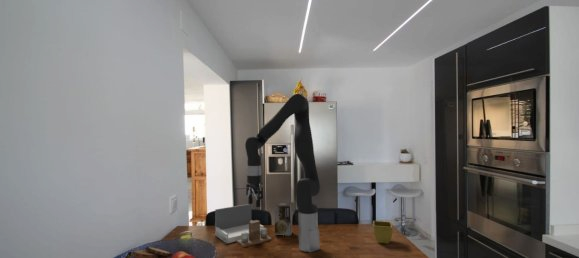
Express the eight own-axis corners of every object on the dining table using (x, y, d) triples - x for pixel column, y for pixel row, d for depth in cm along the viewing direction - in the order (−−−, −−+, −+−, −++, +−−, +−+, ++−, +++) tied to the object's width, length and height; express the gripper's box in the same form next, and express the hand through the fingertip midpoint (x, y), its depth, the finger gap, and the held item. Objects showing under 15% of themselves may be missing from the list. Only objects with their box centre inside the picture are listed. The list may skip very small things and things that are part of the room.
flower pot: (391, 239, 133) (390, 221, 134) (393, 246, 125) (392, 227, 125) (373, 238, 136) (373, 220, 136) (374, 244, 127) (373, 225, 128)
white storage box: (263, 234, 143) (263, 208, 144) (226, 243, 130) (226, 215, 131) (250, 227, 156) (250, 203, 157) (215, 234, 143) (215, 209, 144)
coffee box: (292, 232, 147) (291, 203, 148) (290, 236, 140) (290, 205, 141) (276, 231, 147) (275, 203, 148) (274, 235, 141) (274, 205, 142)
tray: (271, 240, 135) (271, 220, 136) (243, 247, 126) (243, 226, 126) (263, 235, 142) (263, 217, 142) (236, 242, 132) (236, 222, 133)
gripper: (267, 174, 132) (267, 207, 131) (254, 172, 144) (254, 202, 143) (254, 176, 128) (254, 209, 127) (241, 173, 139) (241, 204, 138)
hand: (254, 205), depth 135 cm, fingers open, 8 cm apart
